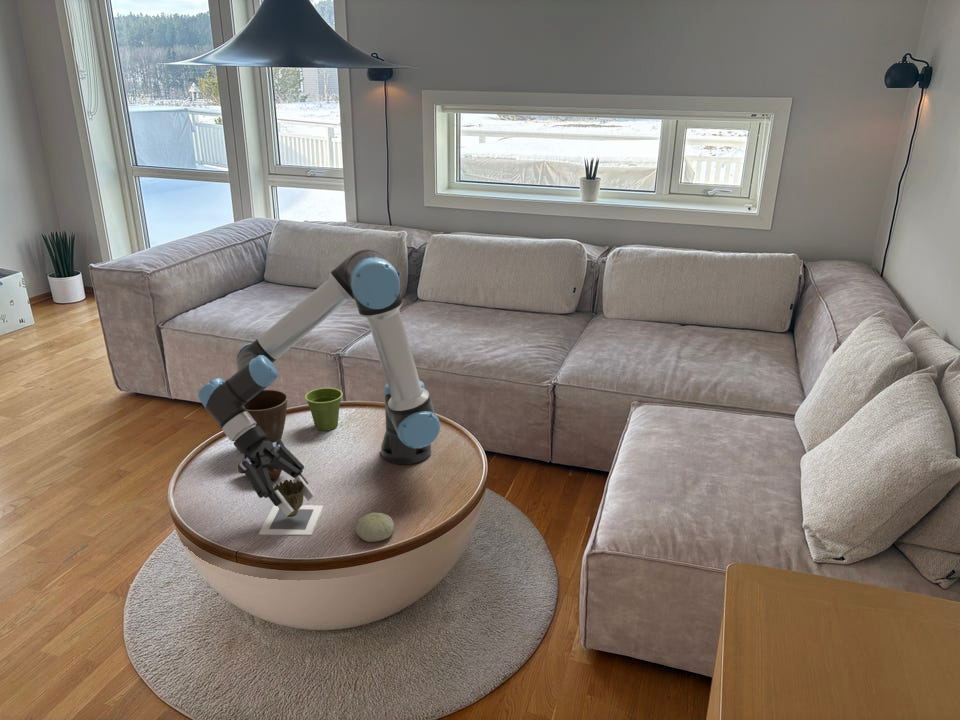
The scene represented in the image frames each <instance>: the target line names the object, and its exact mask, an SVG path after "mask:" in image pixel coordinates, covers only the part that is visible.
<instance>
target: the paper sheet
mask: <svg viewBox="0 0 960 720" xmlns="http://www.w3.org/2000/svg"><path fill="white" fill-rule="evenodd" d="M323 508H324V505H313V504H312V505H311V504H310V505H305V504H304V505H303V504H302V506H301V507H300V508H299V509H298V514H297V515H296V516H293V517H286V516H285V515H284V513H283V512H282V511H281V510H280V509H279V507H278V506H275V505H274V504H273V506H272V508H271V509H270V511H269V513H268V515H267V517H266V519H265V520H264V522H263V524H262V527H261V528H260V530H259V532H258V535H259V536H261V535H264V536H312V535H313V533H314V530H315V528H316V526H317V523H318V521H319V518H320V515H321V513H322V510H323Z"/></svg>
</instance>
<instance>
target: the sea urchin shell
mask: <svg viewBox="0 0 960 720" xmlns="http://www.w3.org/2000/svg"><path fill="white" fill-rule="evenodd" d="M394 529H395V522H394V520H393V519H392V517H391V516H389V515H388V514H386V513H382V512H374V511H373V512H370V513H367V514H365V515H363V516H362V517H361V518H360V519H359V520H357V521H356V524H355V532H356V534H357V535H358V537H359V538H360V539H362V540H363V541H365V542H367V543H368V542H369V543H373V542H376V543H377V542H378V541H379V542H380V541H384V540H387V539H389V538H390V537H391V536H392V534H393V533H394Z"/></svg>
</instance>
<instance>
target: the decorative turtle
mask: <svg viewBox="0 0 960 720" xmlns="http://www.w3.org/2000/svg"><path fill="white" fill-rule="evenodd" d="M275 452H276V451H275ZM280 457H281V456H280ZM274 458H275V457H274ZM239 464H240V463H238V464H237V470H238V472H239V474H245V473H244V472H243V471H242V470H241V469H240V468H239V467H238V466H239ZM251 465H252V466H253V468H254V469H255V467H254V464H251ZM267 470H268V473H269V476H270V479H271V480H273V481H278V479H279V478H280V475H281V473H282V471H283V470H281V469H280V468H279V467H277V466H276V465H274V464H270V463H267ZM255 471H256V470H255ZM256 473H257V474H258V472H256ZM258 476H259V475H258Z"/></svg>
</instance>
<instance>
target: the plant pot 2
mask: <svg viewBox="0 0 960 720" xmlns="http://www.w3.org/2000/svg"><path fill="white" fill-rule="evenodd" d="M343 393H344V392H343V391H342V390H341V389H337V388H334V387H321V388H316V389H315V388H314V389H312V390H310V391H308V392H306V394H305V395H304V398H305V401H307V404H308V405H307V406H308V407H309V410H310V413H311V416H312V420H313V424H314V427H315V429H317V430H318V431H322V432H323V431H324V432H328V431H331V430H334V429H336V428H337V427H338V425H339V415H340V405H341V399H342V397H343Z"/></svg>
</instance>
